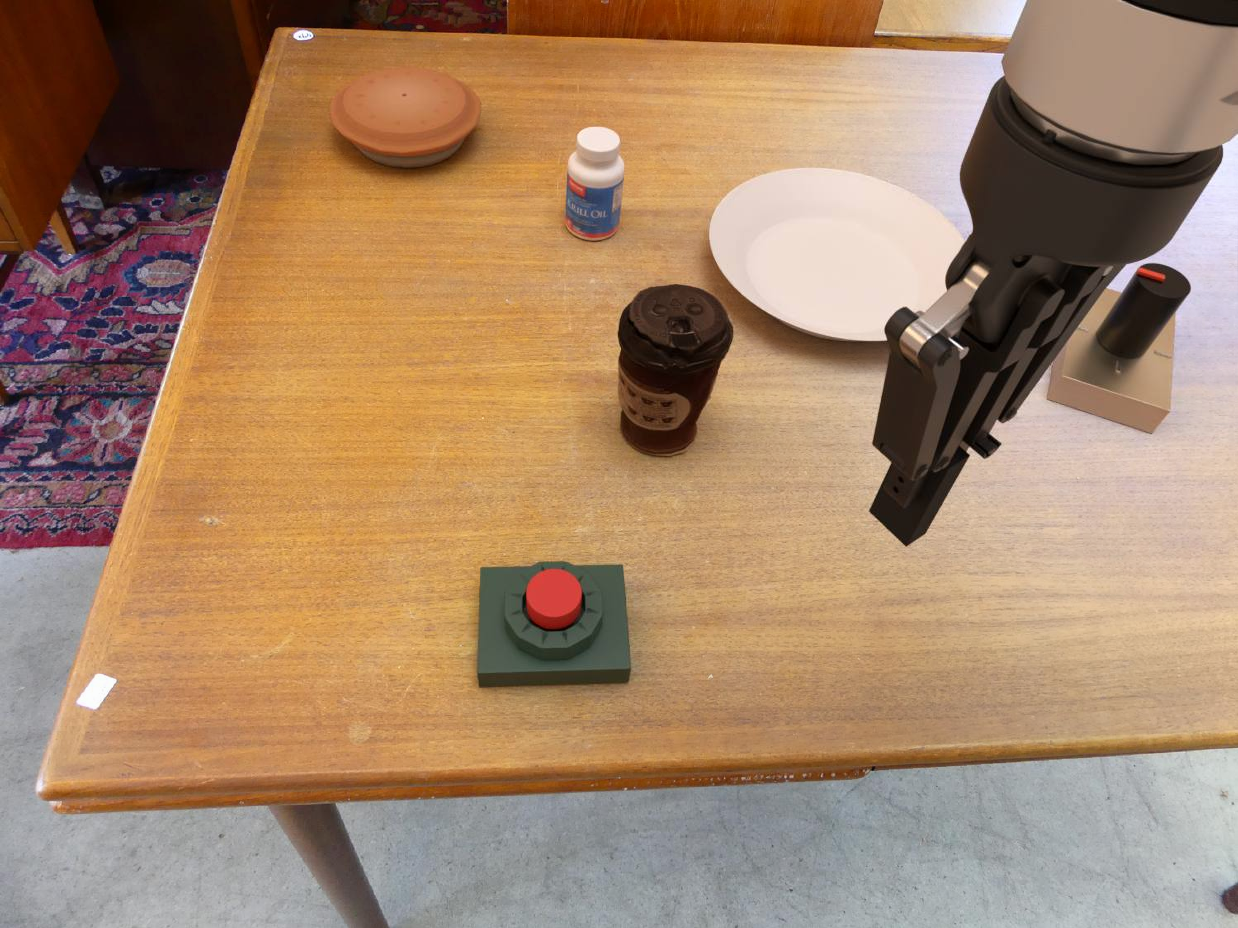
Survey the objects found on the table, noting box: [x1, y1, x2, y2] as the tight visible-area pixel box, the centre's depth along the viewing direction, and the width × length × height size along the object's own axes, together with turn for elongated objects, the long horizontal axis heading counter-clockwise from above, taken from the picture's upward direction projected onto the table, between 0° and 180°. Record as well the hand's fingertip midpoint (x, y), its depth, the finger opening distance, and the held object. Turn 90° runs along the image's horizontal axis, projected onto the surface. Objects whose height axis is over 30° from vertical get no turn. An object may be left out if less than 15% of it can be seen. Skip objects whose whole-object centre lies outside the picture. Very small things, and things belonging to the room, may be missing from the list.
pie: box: [328, 66, 482, 169], centre depth 96 cm, size 15×16×5 cm
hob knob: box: [1097, 262, 1192, 358], centre depth 79 cm, size 4×4×7 cm
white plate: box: [708, 167, 966, 342], centre depth 88 cm, size 25×25×4 cm
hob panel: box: [1046, 287, 1177, 434], centre depth 83 cm, size 14×9×3 cm, turn 157°
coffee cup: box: [617, 283, 734, 457], centre depth 70 cm, size 9×8×13 cm
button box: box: [476, 560, 632, 688], centre depth 62 cm, size 10×8×4 cm
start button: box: [526, 569, 582, 629], centre depth 60 cm, size 4×4×2 cm
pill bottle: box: [564, 126, 626, 242], centre depth 87 cm, size 6×5×10 cm
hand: (897, 522), depth 48 cm, fingers closed
